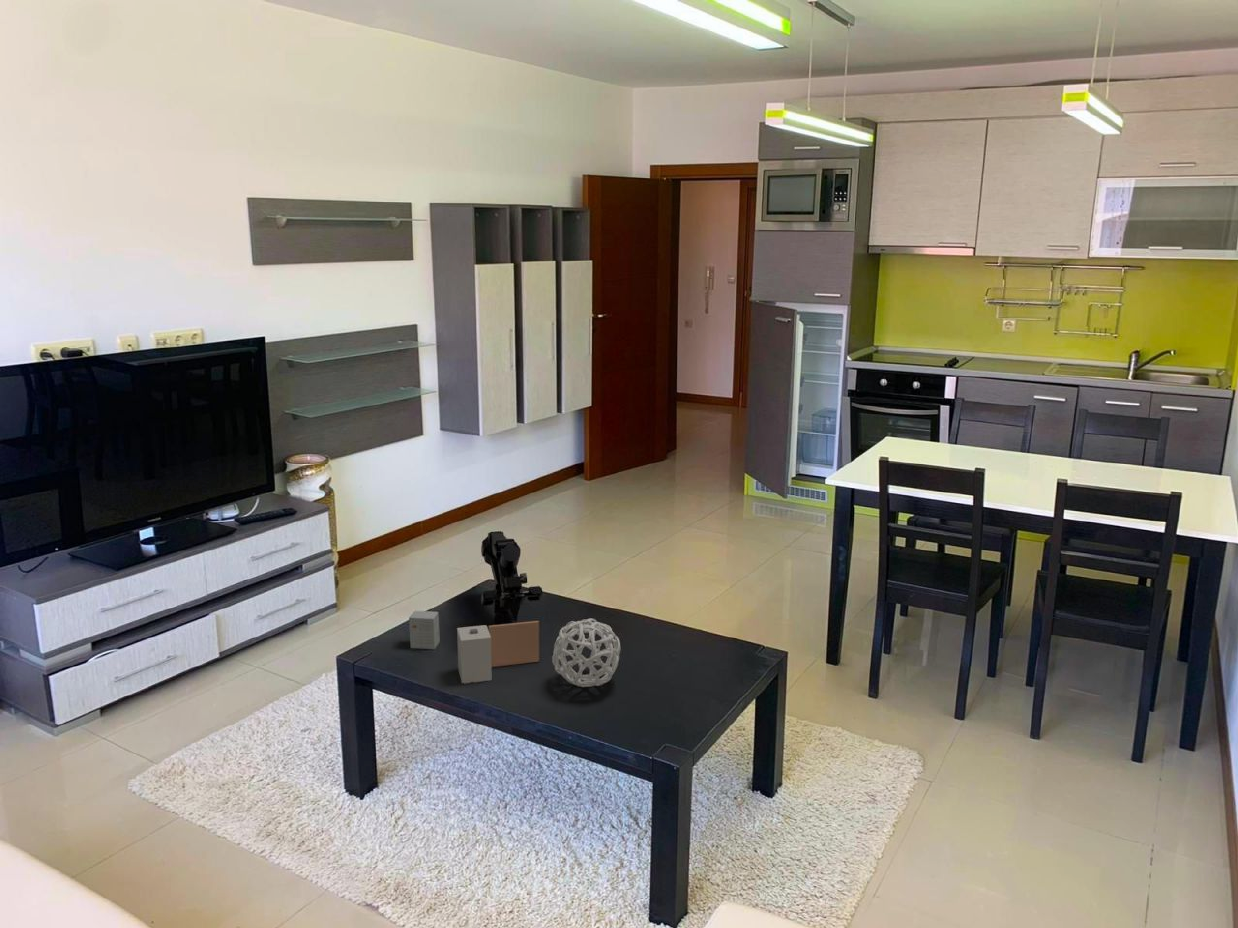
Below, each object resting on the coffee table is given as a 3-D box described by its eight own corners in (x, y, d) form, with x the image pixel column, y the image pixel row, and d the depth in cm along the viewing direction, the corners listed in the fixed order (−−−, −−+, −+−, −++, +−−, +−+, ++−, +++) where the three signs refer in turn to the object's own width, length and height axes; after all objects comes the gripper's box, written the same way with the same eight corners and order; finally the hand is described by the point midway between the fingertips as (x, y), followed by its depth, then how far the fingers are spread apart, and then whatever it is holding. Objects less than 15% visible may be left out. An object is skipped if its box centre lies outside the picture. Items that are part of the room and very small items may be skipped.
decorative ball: (541, 694, 261) (541, 632, 256) (564, 664, 280) (564, 605, 275) (609, 705, 256) (610, 641, 251) (627, 673, 274) (629, 614, 270)
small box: (440, 642, 293) (439, 611, 291) (435, 649, 288) (434, 618, 285) (415, 640, 294) (414, 610, 291) (410, 648, 288) (408, 617, 286)
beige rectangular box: (457, 667, 276) (456, 623, 272) (486, 664, 278) (485, 620, 275) (462, 683, 267) (461, 638, 263) (491, 680, 269) (491, 634, 265)
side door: (489, 665, 277) (488, 625, 274) (538, 660, 282) (538, 620, 278) (489, 667, 277) (489, 627, 273) (538, 661, 281) (538, 621, 278)
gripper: (481, 566, 284) (488, 613, 276) (541, 561, 289) (548, 607, 282) (478, 581, 293) (484, 627, 286) (536, 576, 298) (543, 621, 291)
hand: (515, 621), depth 286 cm, fingers closed
